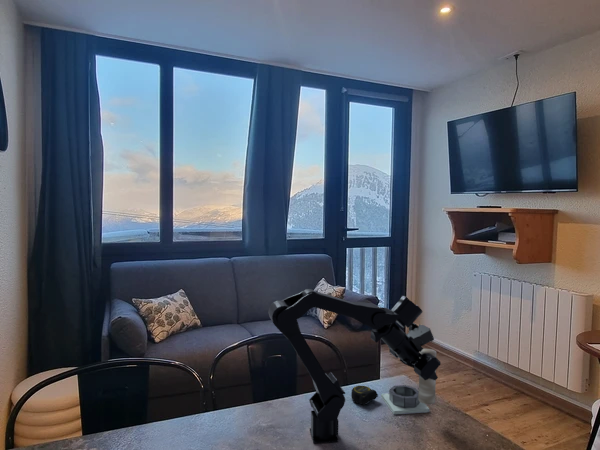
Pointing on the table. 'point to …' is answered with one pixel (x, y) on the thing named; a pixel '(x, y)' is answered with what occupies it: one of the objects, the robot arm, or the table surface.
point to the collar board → (400, 410)
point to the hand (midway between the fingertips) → (431, 375)
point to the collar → (398, 395)
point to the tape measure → (363, 394)
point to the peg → (427, 385)
